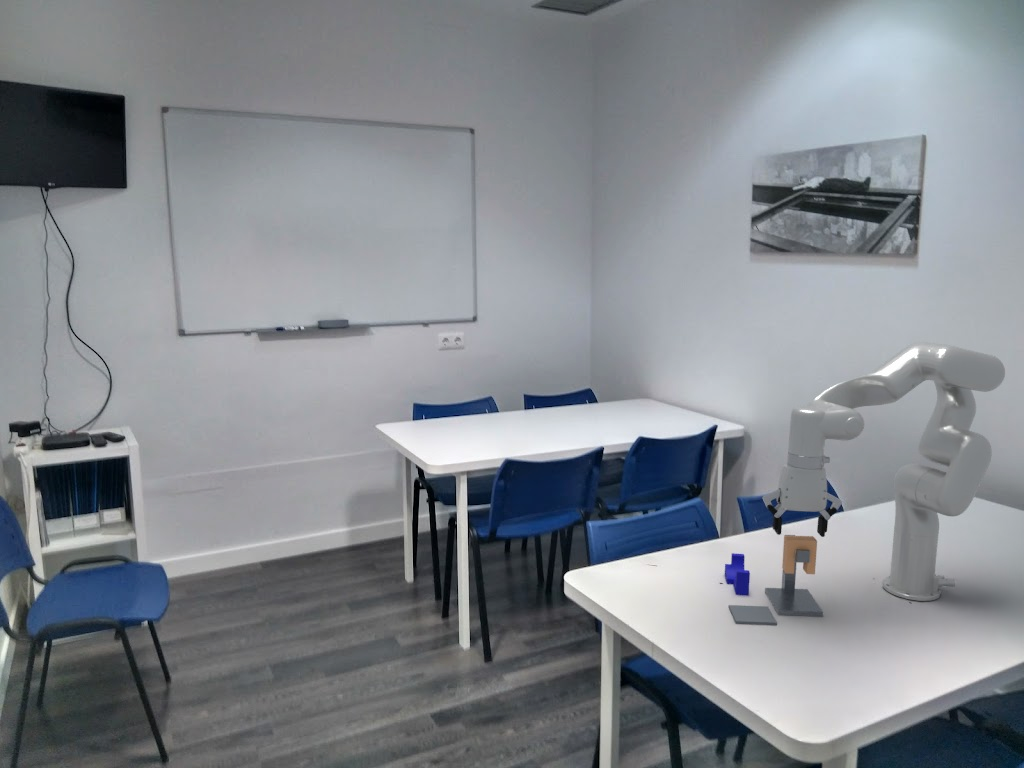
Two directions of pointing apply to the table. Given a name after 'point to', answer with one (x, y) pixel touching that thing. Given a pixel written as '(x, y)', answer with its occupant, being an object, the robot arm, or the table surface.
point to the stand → (794, 593)
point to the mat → (752, 615)
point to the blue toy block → (738, 574)
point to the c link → (804, 544)
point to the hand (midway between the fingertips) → (799, 533)
